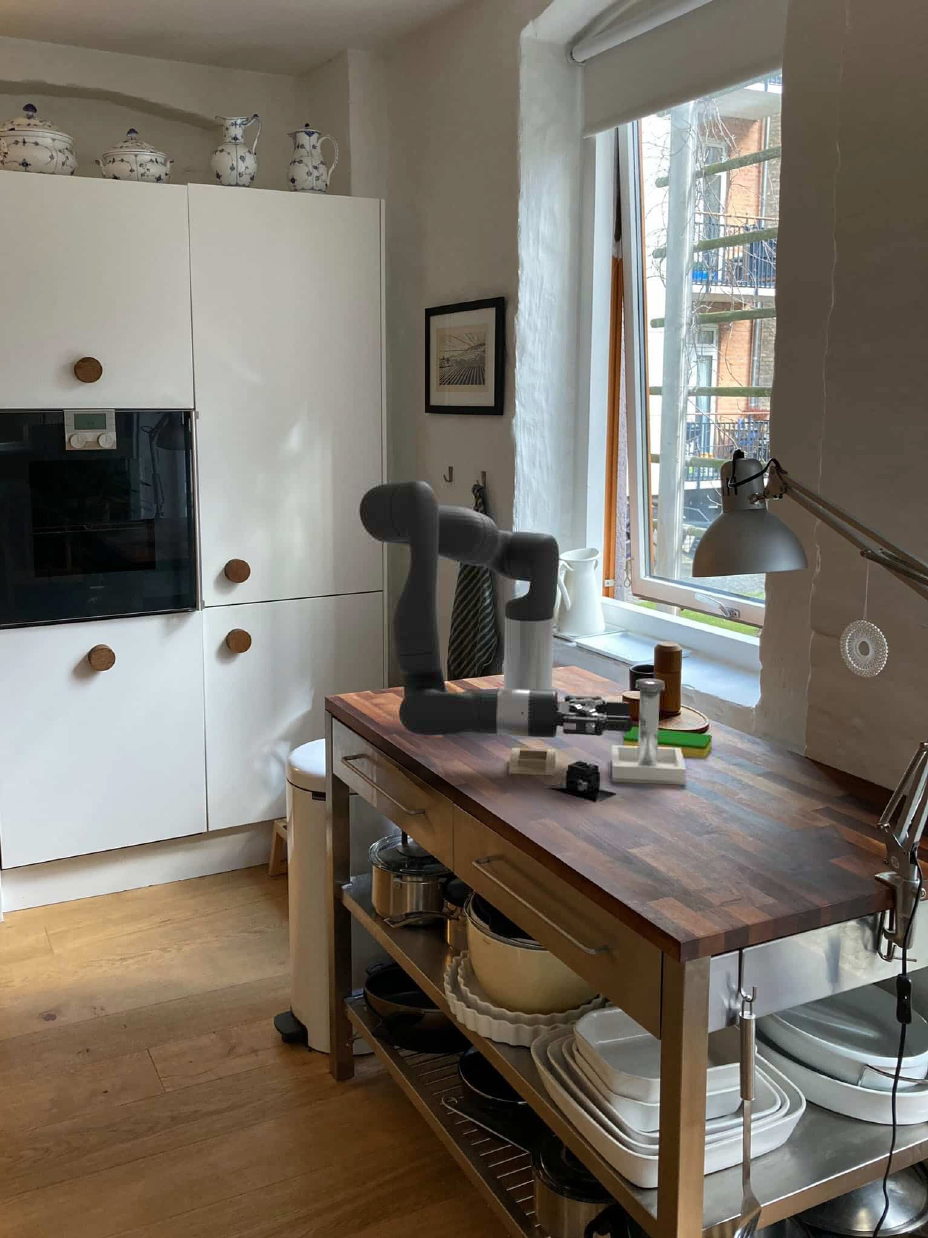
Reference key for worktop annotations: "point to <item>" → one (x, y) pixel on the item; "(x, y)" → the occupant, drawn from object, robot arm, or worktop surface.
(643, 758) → the pin
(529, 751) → the socket block
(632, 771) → the dish
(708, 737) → the dish sponge
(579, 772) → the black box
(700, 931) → the worktop surface
